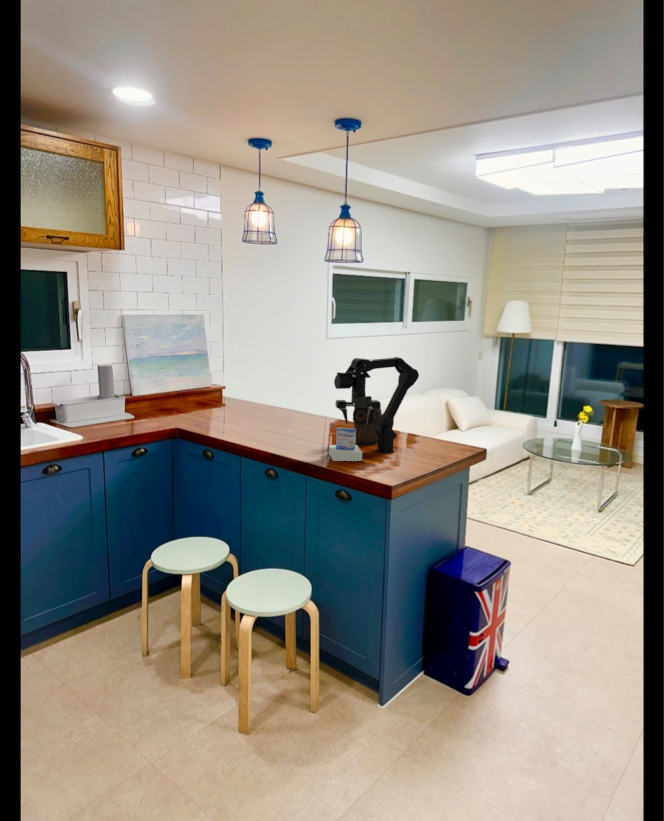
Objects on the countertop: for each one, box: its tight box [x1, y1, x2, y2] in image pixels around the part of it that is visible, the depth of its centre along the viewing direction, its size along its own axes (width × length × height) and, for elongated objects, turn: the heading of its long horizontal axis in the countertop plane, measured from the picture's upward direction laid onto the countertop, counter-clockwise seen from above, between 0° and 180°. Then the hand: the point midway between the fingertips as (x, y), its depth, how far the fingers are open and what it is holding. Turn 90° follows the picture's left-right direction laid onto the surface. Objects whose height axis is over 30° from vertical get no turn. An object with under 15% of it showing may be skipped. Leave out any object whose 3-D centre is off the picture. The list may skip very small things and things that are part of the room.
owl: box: [352, 400, 383, 446], centre depth 262 cm, size 13×13×20 cm
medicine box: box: [335, 426, 356, 450], centre depth 236 cm, size 8×4×9 cm, turn 84°
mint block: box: [328, 444, 363, 463], centre depth 237 cm, size 12×12×4 cm
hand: (357, 424), depth 242 cm, fingers open, 9 cm apart
